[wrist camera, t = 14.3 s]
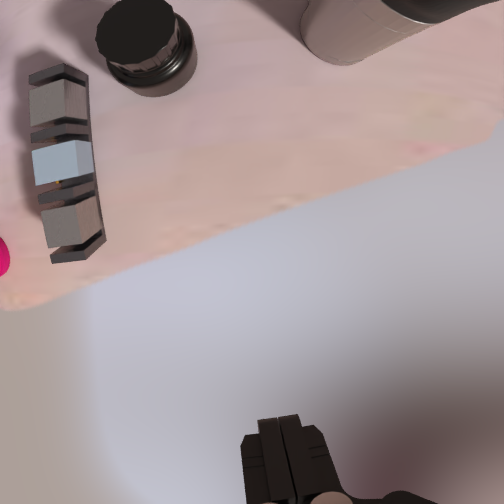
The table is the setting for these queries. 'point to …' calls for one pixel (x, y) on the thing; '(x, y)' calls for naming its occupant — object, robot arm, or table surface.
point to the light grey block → (62, 161)
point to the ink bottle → (147, 46)
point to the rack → (76, 188)
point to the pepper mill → (4, 258)
